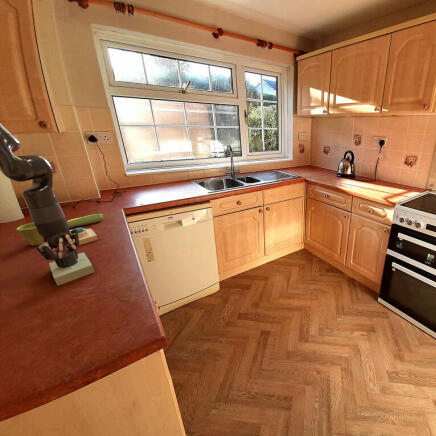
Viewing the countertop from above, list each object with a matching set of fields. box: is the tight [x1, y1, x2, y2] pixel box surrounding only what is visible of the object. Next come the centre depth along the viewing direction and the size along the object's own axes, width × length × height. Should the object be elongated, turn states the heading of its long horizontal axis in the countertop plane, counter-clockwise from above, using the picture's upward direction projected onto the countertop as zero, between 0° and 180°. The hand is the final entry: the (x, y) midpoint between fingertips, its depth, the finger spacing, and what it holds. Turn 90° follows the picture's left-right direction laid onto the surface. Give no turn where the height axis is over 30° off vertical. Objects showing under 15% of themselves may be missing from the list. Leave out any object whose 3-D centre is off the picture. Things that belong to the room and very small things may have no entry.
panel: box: [48, 251, 96, 287], centre depth 86 cm, size 14×10×3 cm
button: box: [74, 226, 84, 233], centre depth 109 cm, size 4×4×2 cm
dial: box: [62, 250, 78, 267], centre depth 85 cm, size 4×4×4 cm
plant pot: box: [16, 221, 44, 247], centre depth 107 cm, size 9×9×9 cm
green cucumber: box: [67, 212, 105, 229], centre depth 126 cm, size 5×20×5 cm, turn 135°
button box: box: [73, 228, 99, 246], centre depth 110 cm, size 12×10×4 cm
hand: (69, 262), depth 86 cm, fingers closed on dial, 4 cm apart
